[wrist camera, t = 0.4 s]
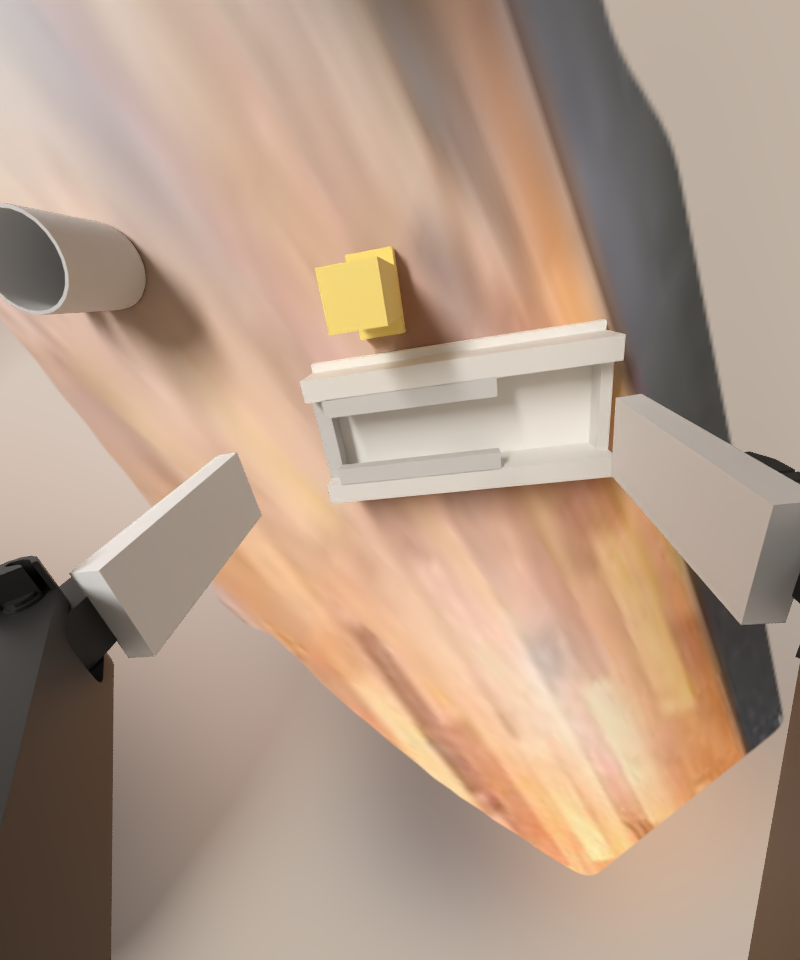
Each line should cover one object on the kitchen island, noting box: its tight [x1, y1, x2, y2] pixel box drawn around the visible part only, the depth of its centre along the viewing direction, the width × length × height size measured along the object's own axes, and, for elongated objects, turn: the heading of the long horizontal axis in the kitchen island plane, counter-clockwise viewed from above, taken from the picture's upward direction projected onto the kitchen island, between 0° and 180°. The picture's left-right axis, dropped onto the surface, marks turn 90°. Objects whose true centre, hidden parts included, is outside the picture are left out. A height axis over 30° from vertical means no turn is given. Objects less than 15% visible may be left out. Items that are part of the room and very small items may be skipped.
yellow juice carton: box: [314, 246, 406, 340], centre depth 30 cm, size 7×4×12 cm, turn 9°
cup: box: [0, 203, 146, 315], centre depth 33 cm, size 7×10×9 cm
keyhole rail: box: [300, 319, 626, 504], centre depth 38 cm, size 14×27×5 cm, turn 99°
